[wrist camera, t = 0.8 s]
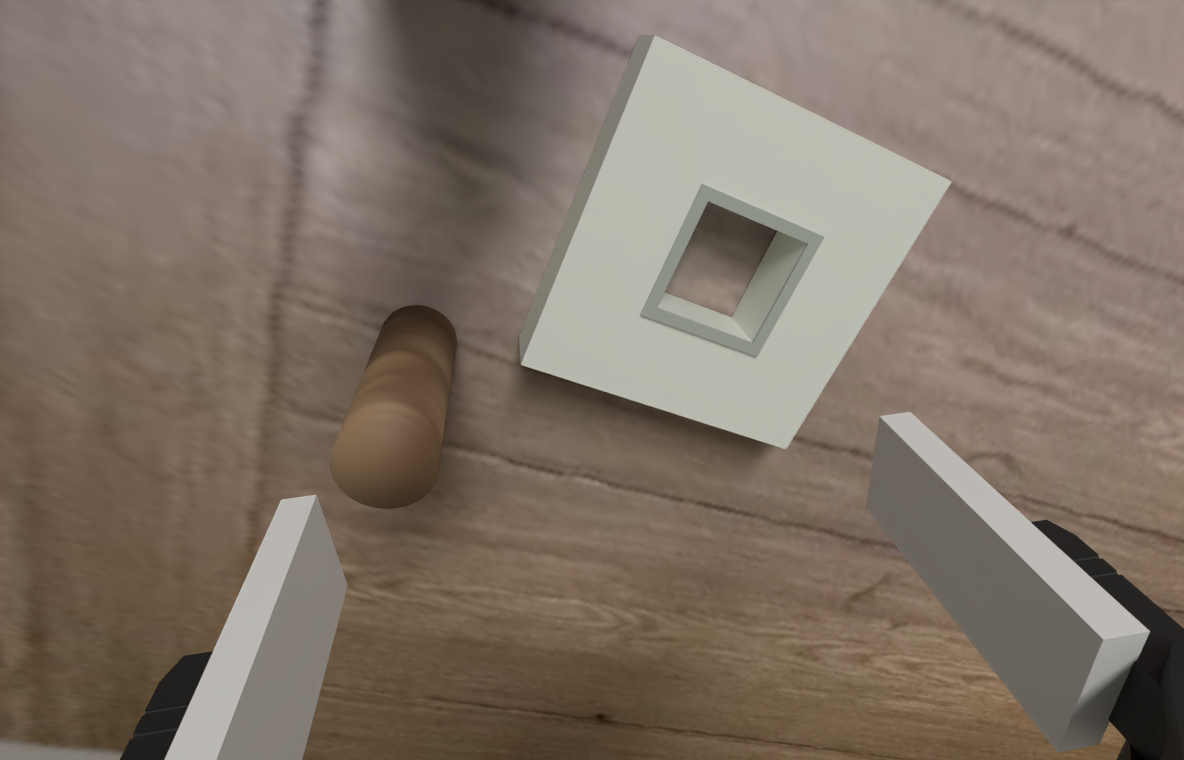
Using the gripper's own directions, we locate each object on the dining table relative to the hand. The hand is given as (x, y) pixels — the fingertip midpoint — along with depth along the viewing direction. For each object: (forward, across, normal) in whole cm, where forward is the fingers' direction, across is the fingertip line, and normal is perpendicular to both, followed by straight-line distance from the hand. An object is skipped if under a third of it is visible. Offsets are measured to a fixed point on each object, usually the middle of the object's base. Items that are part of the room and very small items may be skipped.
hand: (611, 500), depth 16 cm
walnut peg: (+21, -7, -4) cm, 23 cm away
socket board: (+21, +9, -2) cm, 23 cm away
